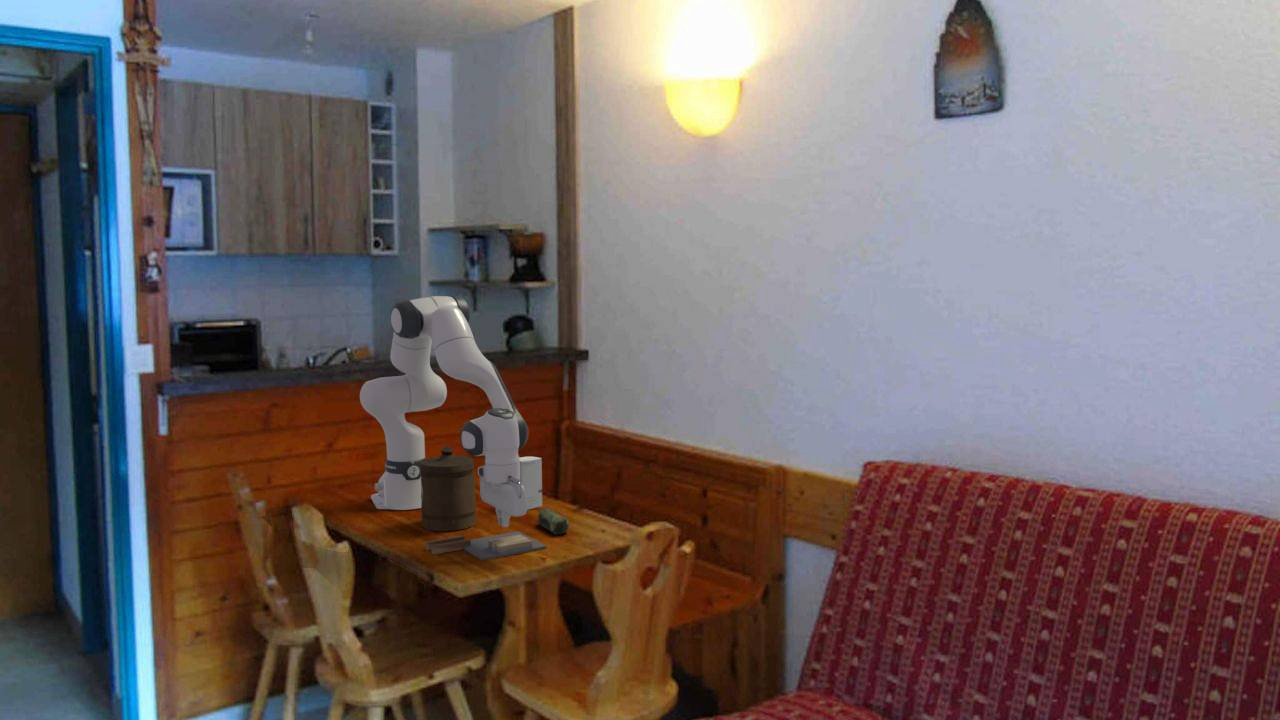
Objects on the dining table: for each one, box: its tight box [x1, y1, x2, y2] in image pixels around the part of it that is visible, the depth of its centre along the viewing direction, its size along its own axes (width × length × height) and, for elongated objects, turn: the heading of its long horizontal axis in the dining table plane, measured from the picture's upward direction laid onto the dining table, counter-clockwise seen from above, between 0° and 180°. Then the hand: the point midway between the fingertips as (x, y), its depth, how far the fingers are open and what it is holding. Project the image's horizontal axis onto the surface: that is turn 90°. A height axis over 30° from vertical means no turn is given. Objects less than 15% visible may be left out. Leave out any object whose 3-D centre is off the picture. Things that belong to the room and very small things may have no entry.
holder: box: [424, 534, 471, 555], centre depth 256 cm, size 6×10×2 cm, turn 123°
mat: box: [462, 530, 547, 561], centre depth 258 cm, size 16×18×1 cm
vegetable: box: [537, 508, 570, 536], centre depth 273 cm, size 14×5×5 cm, turn 29°
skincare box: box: [519, 455, 543, 511], centre depth 296 cm, size 8×6×15 cm
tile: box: [488, 534, 532, 555], centre depth 254 cm, size 2×9×7 cm
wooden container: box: [420, 445, 477, 532], centre depth 278 cm, size 15×15×22 cm
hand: (503, 525), depth 256 cm, fingers closed
